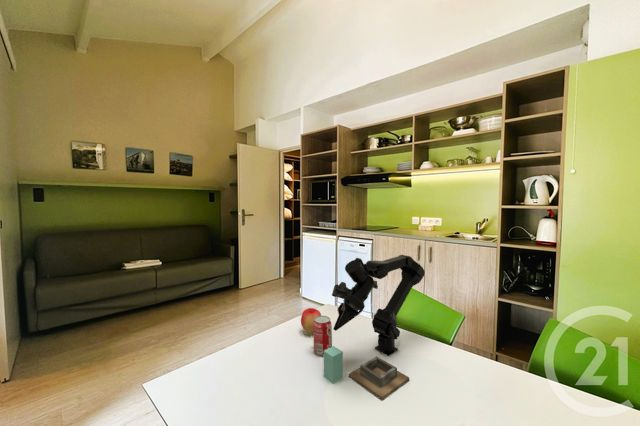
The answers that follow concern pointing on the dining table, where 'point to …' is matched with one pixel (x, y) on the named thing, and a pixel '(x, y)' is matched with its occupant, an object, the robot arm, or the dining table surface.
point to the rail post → (333, 364)
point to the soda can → (322, 334)
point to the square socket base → (379, 377)
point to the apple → (309, 319)
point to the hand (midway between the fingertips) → (336, 328)
